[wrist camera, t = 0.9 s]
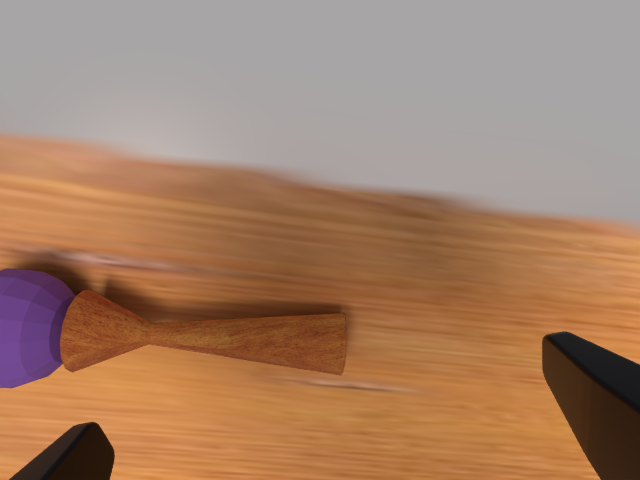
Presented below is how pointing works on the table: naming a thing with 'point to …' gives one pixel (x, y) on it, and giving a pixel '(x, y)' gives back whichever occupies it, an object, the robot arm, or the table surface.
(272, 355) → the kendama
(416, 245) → the table surface
